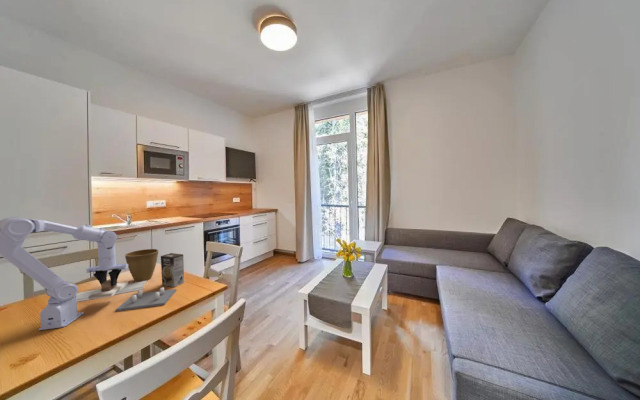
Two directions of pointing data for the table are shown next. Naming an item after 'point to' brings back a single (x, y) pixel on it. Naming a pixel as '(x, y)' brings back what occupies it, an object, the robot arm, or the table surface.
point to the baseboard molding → (129, 288)
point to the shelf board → (109, 293)
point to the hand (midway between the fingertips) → (109, 286)
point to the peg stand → (147, 299)
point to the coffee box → (172, 269)
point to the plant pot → (142, 263)
